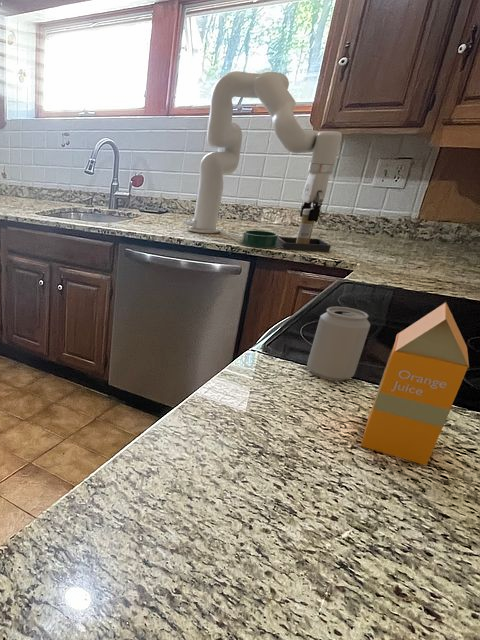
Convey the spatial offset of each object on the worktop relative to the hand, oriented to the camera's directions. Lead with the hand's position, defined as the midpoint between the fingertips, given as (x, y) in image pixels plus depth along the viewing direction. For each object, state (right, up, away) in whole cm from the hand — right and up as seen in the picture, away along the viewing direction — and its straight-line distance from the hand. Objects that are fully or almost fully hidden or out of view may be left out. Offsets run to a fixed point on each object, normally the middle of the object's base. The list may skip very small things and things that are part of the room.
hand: (308, 218), depth 191 cm
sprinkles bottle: (0, -9, +4) cm, 10 cm away
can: (-53, -54, -96) cm, 122 cm away
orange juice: (-56, -64, -117) cm, 144 cm away
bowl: (-15, -8, +7) cm, 18 cm away
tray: (0, -10, +4) cm, 11 cm away
